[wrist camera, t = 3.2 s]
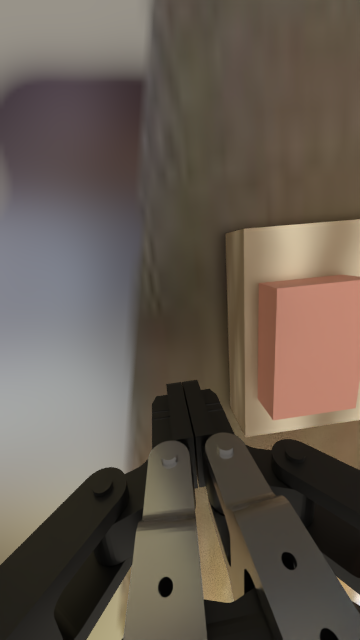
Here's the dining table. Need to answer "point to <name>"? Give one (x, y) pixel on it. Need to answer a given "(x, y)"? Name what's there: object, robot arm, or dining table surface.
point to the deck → (243, 300)
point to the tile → (309, 345)
